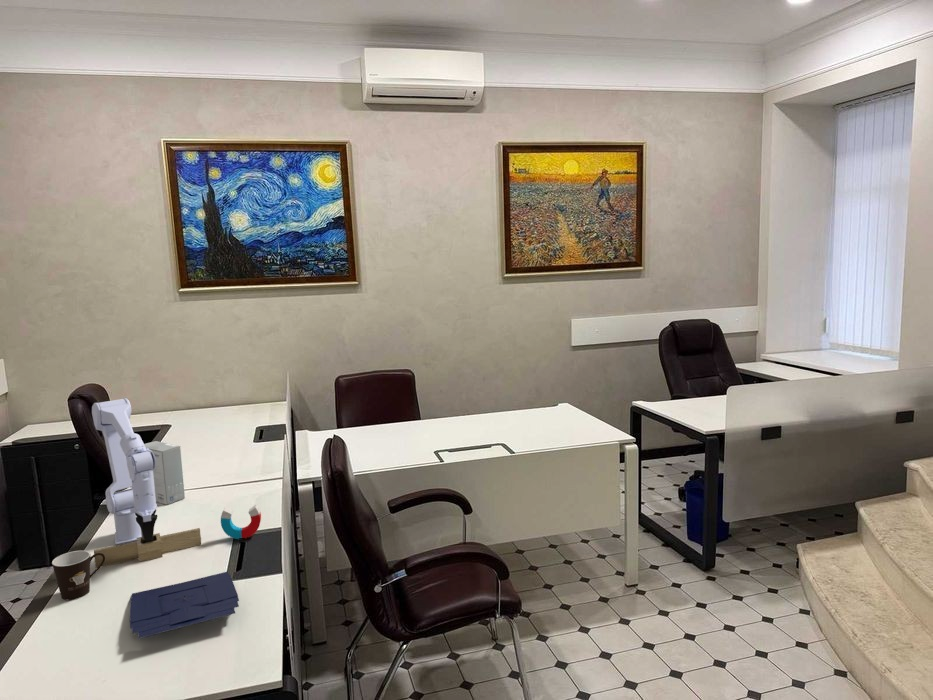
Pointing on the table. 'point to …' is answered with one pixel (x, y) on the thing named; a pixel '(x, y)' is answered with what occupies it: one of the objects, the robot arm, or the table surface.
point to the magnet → (236, 531)
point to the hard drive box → (167, 472)
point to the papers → (182, 604)
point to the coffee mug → (74, 573)
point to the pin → (146, 539)
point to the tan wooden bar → (148, 547)
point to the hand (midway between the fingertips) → (148, 536)
